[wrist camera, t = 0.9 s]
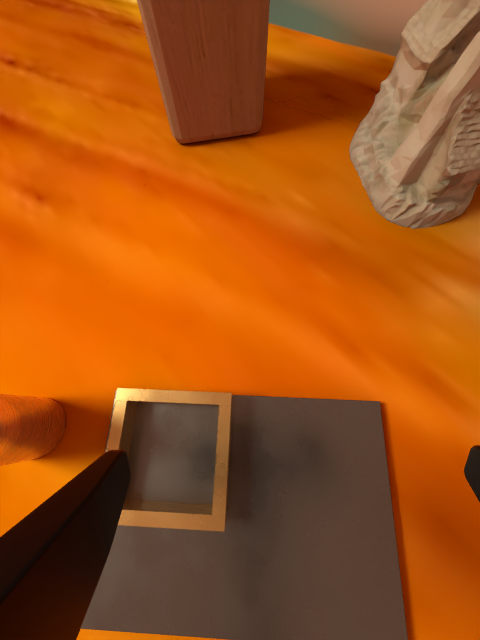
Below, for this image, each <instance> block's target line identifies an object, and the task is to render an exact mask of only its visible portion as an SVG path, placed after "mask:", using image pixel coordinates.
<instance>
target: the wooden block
mask: <svg viewBox="0 0 480 640" xmlns="http://www.w3.org/2000/svg"><path fill="white" fill-rule="evenodd" d="M137 2H138V5H139V9H140V13H141V17H142V21H143V25H144V28H145V32H146V36H147V40H148V44H149V48H150V51H151V55H152V59H153V63H154V67H155V71H156V74H157V78H158V82H159V86H160V90H161V93H162V97H163V101H164V105H165V109H166V113H167V116H168V120H169V124H170V128H171V132H172V135H173V136H174V137H175V139H176V140H177V142H178V143H183V144H184V143H191V142H198V141H205V140H211V139H218V138H225V137H232V136H239V135H245V134H252V133H256V132H258V131H259V130H260V128H261V125H262V121H263V106H264V89H265V72H266V55H267V38H268V21H269V3H270V0H137Z"/></svg>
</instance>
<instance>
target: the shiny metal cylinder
mask: <svg viewBox="0 0 480 640" xmlns="http://www.w3.org/2000/svg"><path fill="white" fill-rule="evenodd" d="M65 425H66V417H65V413H64V410H63V408H62V407H61V405H60V404H59V403H58V402H56V401H55V400H52V399H49V398H41V397H29V396H17V395H5V394H0V466H3V465H7V464H12V463H17V462H22V461H26V460H31V459H36V458H39V457H42V456H44V455H46V454H47V453H49V452H50V451H51V450H53V449H54V448H55V447H56V445H57V444H58V443H59V441H60V440H61V438H62V436H63V433H64V430H65Z"/></svg>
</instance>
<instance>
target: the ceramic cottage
mask: <svg viewBox="0 0 480 640" xmlns="http://www.w3.org/2000/svg"><path fill="white" fill-rule="evenodd" d="M350 156H351V158H350V159H351V161H352V162H353V164H354V167H355V169H356V171H358V175H359V176H360V178H361V181H362V184H363V187H364V188H365V189H366V191H367V194H368V196H369V198H370V200H371V202H372V204H373V206H374V208H375V209H376V210H377V212H378V213H379V214H380V215H382V216H383V217H384V218H386V219H387V221H389V220H390V222H392V223H395V224H398V225H401V226H403V227H410V228H413V229H415V228H425V227H433V226H436V225H439V224H442V223H445V222H447V221H450V220H452V219H454V218H455V217H457V216H460V215H461V214H462V213H463V212H464V211H465V210H466V208H467V207H468V205H469V204H470V201H471V200H472V198H473V194H474V192H475V190H476V188H477V186H478V184H480V0H428V1H427V2H426V3H425V4H424V6H423V7H422V8H421V9H420V10H419V11H418V12H417V13H416V14H415V15H414V16H413V17H412V18H411V19H410V21H409V22H408V24H407V25H406V27H405V29H404V31H403V32H402V33H401V48H400V50H399V52H398V54H397V57H396V60H395V62H394V65H393V68H392V71H391V73H390V75H389V76H388V77H387V79H385V80H384V81H382V82H381V85H380V92H379V93H378V94H376V96H375V100H374V104H373V106H372V107H371V109H370V111H369V113H368V114H367V115H366V117H365V118H364V119H363V120H362V121H361V123H360V125H359V127H358V129H357V131H356V133H355V135H354V137H353V139H352V141H351V145H350Z"/></svg>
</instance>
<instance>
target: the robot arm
mask: <svg viewBox="0 0 480 640" xmlns="http://www.w3.org/2000/svg"><path fill="white" fill-rule="evenodd" d="M464 473H465V477H466V479H467V481H468V483H469V485H470V486H471V488H472V490H473V491H474V493H475V495H476V496H477V498H478V500H479V502H480V445H476V446H473V447H472V448H471V450H470V453H469V456H468V459H467V462H466V465H465V468H464ZM130 479H131V472H130V467H129V462H128V457H127V453H126V451H125V450H122V449H120V450H109V451H107V452H105V453H104V454H103V455H102V456H101V457H99V458H98V459H97V460H96V461H94V462H93V463H92V464H91V465H89V466H88V467H87V468H86V469H84V470H83V471H82V472H81V473H79V474H78V475H77V476H76V477H74V478H73V479H72V480H71V481H69V482H68V483H67V484H66V485H65V486H63V487H62V488H61V489H60V490H58V491H57V492H56V493H55V494H53V495H52V496H51V497H50V498H48V499H47V500H46V501H45V502H43V503H42V504H41V505H40V506H38V507H37V508H36V509H35V510H33V511H32V512H31V513H30V514H29V515H27V516H26V517H25V518H24V519H22V520H21V521H20V522H19V523H17V524H16V525H15V526H14V527H12V528H11V529H10V530H9V531H7V532H6V533H5V534H4V535H2V536H1V537H0V640H76V639H77V636H78V634H79V631H80V629H81V626H82V623H83V621H84V618H85V616H86V613H87V610H88V608H89V605H90V603H91V600H92V597H93V595H94V592H95V590H96V587H97V584H98V582H99V579H100V577H101V574H102V571H103V569H104V566H105V564H106V561H107V558H108V555H109V552H110V550H111V546H112V543H113V540H114V537H115V533H116V530H117V526H118V523H119V519H120V516H121V512H122V509H123V505H124V502H125V498H126V495H127V491H128V488H129V484H130Z"/></svg>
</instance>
